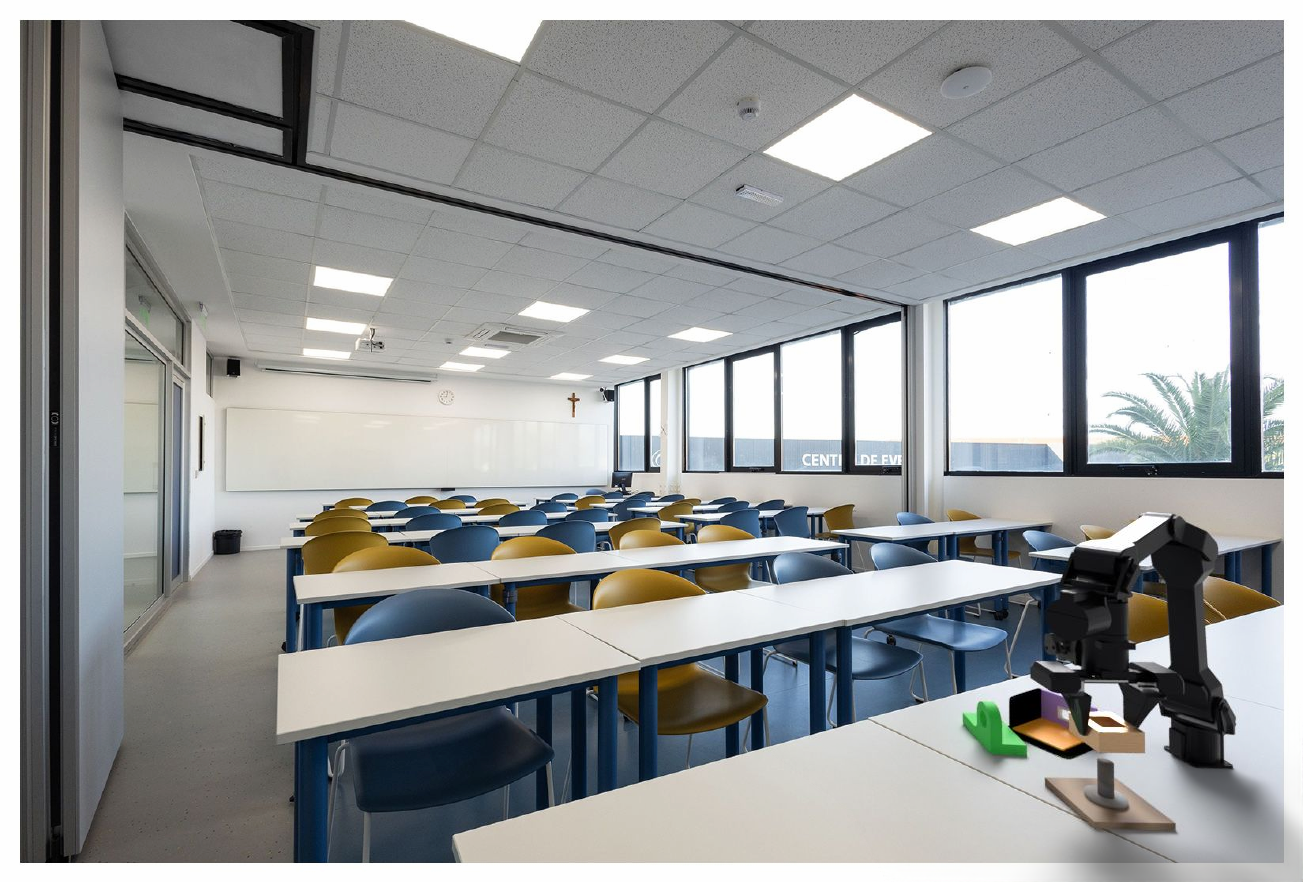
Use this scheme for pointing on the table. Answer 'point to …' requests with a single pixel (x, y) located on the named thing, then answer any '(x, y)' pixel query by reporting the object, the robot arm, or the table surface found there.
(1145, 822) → the post stand
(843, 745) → the table surface
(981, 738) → the mechanical part
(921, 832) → the table surface
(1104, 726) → the wooden collar
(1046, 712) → the toy room diorama
